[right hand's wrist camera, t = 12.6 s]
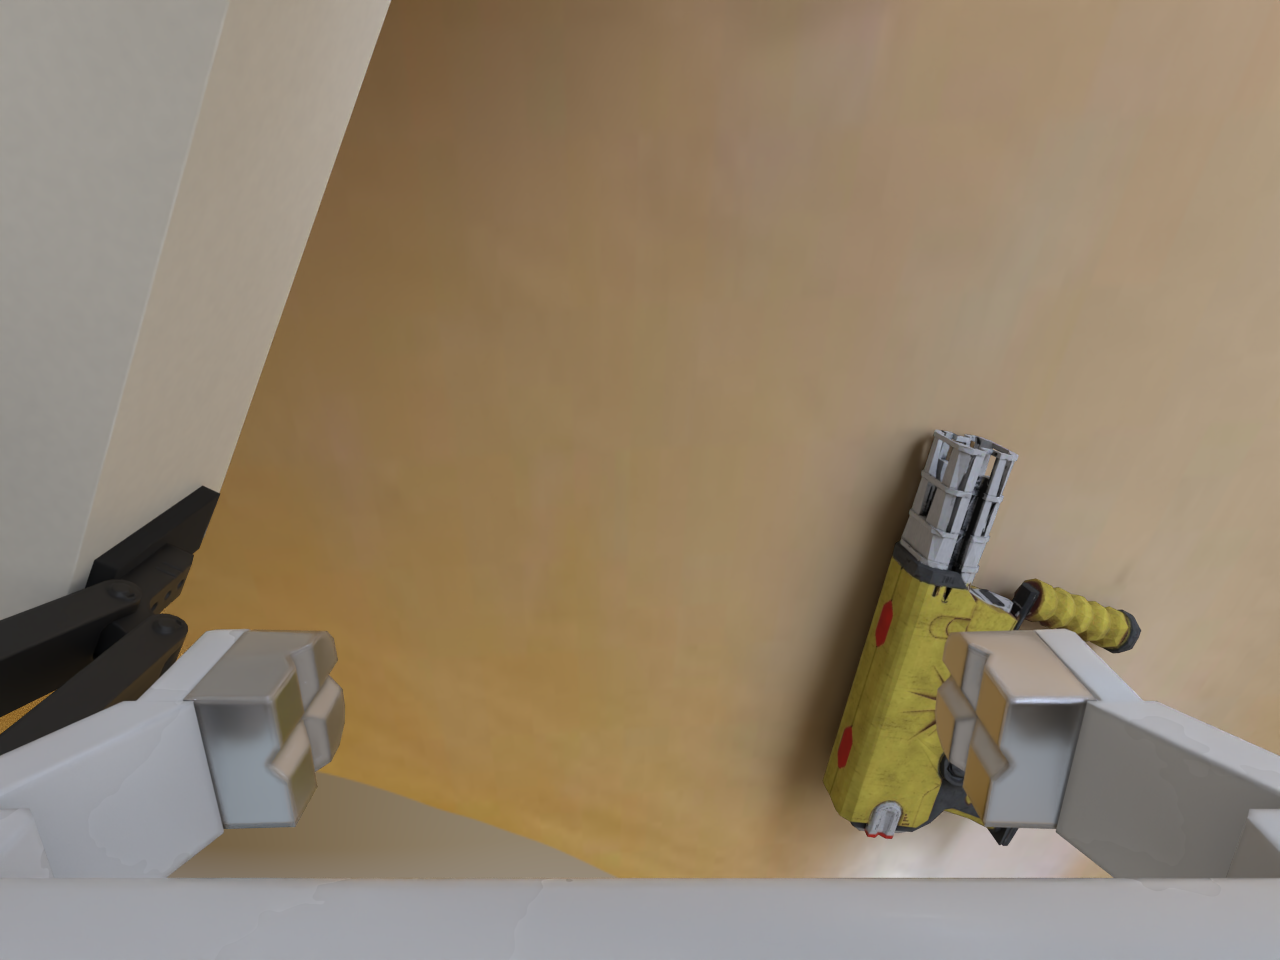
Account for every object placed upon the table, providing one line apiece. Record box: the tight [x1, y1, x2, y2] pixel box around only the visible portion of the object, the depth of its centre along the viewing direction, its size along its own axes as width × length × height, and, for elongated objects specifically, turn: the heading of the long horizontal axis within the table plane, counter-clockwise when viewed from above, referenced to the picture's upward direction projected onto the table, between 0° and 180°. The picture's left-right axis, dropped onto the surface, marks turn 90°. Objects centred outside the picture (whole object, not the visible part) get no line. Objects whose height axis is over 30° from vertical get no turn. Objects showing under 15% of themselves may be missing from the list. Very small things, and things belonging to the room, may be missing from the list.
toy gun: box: [823, 430, 1141, 846], centre depth 45 cm, size 5×24×15 cm
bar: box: [0, 0, 391, 620], centre depth 24 cm, size 25×6×10 cm, turn 151°
